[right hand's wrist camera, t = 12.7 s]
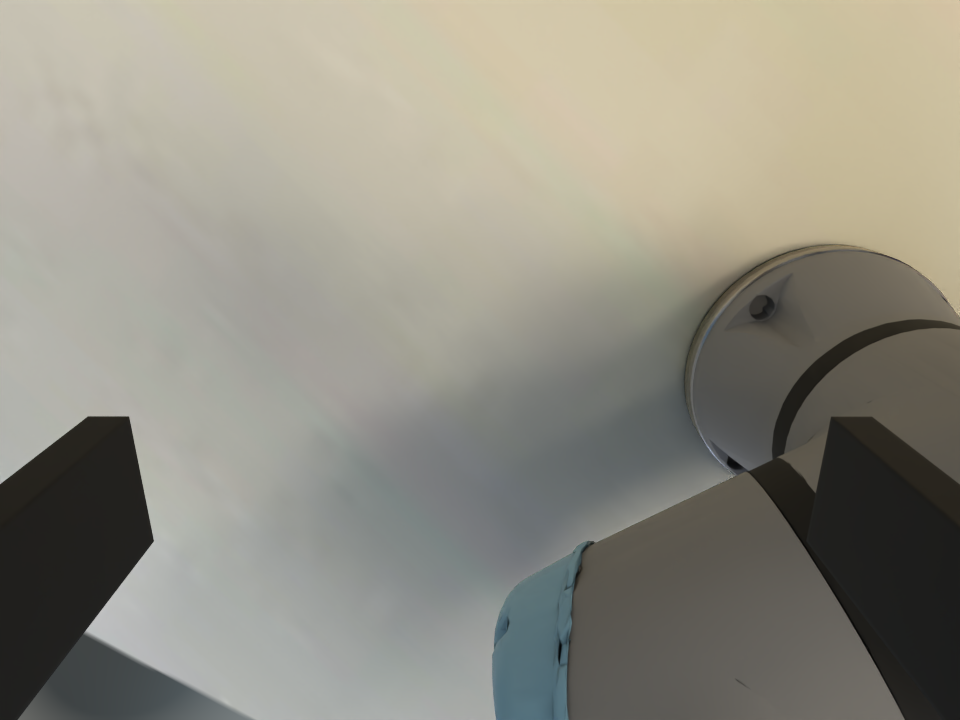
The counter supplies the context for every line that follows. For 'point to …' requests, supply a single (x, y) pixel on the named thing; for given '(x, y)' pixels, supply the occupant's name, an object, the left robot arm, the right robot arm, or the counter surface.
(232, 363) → the counter surface
